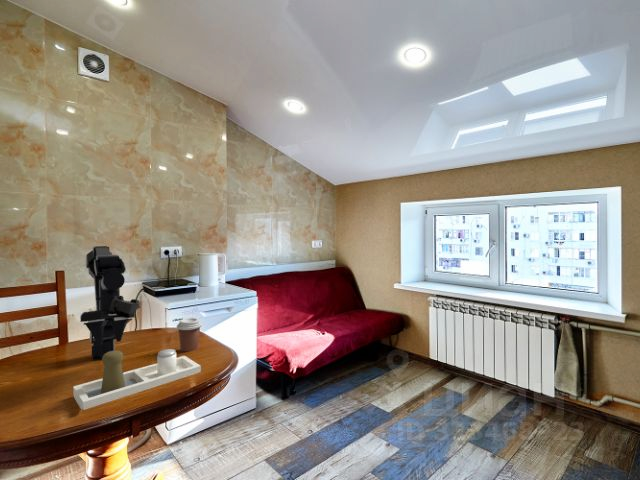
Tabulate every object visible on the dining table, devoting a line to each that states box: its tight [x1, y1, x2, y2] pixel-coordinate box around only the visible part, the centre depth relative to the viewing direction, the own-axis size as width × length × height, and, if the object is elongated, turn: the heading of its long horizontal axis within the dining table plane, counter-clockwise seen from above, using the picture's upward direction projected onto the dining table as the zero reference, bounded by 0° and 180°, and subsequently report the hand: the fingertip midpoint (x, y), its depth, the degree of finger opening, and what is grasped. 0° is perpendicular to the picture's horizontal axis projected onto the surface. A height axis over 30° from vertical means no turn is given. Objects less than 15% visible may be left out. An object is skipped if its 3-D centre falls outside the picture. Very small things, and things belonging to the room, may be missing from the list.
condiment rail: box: [72, 355, 202, 411], centre depth 103 cm, size 32×12×3 cm, turn 136°
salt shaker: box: [156, 348, 177, 377], centre depth 108 cm, size 6×6×7 cm
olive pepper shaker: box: [101, 350, 125, 394], centre depth 97 cm, size 6×6×11 cm
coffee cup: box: [176, 317, 203, 352], centre depth 131 cm, size 9×9×12 cm
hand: (109, 343), depth 107 cm, fingers open, 9 cm apart
